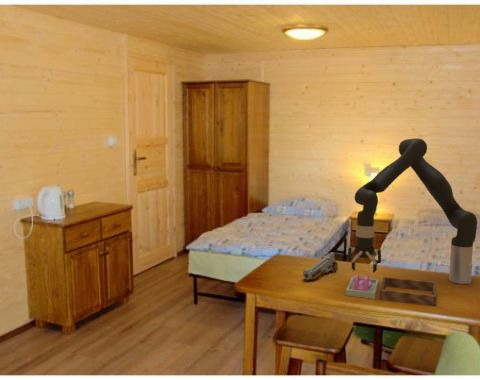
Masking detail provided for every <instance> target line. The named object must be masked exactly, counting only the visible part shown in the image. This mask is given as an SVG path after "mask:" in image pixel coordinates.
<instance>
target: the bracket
mask: <svg viewBox="0 0 480 380" xmlns="http://www.w3.org/2000/svg"><path fill="white" fill-rule="evenodd" d="M353 277H354V290H359V291H368V290H369V289H370V287H371V284H372V283H371V282H370V281H369V279H370V276H369V275H364V277H363V278H364V280H361V281H359V277H360V275H359V274H354V276H353Z"/></svg>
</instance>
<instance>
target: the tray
mask: <svg viewBox="0 0 480 380" xmlns="http://www.w3.org/2000/svg"><path fill="white" fill-rule="evenodd" d="M361 280H364V277H360V276H359V281H361ZM369 281H370V282H371V283H372V284H371V287H370V289H369V290H368V291H359V290H354V276H351V278H350V280H349V282H348V285H347V286H346V288H345V296H348V297H356V298H357V297H358V298H364V299H374V300H375V299H376V296H377V292H378V289H379V282H380V279H378V278H369Z"/></svg>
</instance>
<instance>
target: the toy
mask: <svg viewBox="0 0 480 380" xmlns="http://www.w3.org/2000/svg"><path fill="white" fill-rule="evenodd" d="M335 255H336V253H335V252H330V253H329V252H325V253H324V256H322V258H321V259H320V260H319V261H318V262H316V263H315V264H313V265H312V266H311V267H309V268H305V269H304V270H303V271H302V274H303V275H302V277H303V278H304V279H305V280H307V281H308V280H309V281H314V280H316V278H318V277H319V276H320V275H321V274H322V273H323V274H327V273H329V272H334V273H335V272H337V270H339V268H338V267H339V266H338V265H339V264H338V262H337V261H336V257H335Z"/></svg>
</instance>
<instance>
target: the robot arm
mask: <svg viewBox="0 0 480 380" xmlns="http://www.w3.org/2000/svg"><path fill="white" fill-rule="evenodd" d="M398 145H399V146H398V152H399V154H400V156H399V157H398V158H397V159H395V160H394V161H393V162H391V163H390V164H388V165H386V166H385V167H384V168H383V169H381V170H380V171H379V172H378V173H377V174H376V175H375V176H374V177H373V178H372V179H371V180H370V181H368V182H367V183H365V184H363V185H362V186H361V187H359V188H358V189H357V191H355V194H354V202H355V203H356V204H358V205H360V206H363V207H362V210H359V211H358V212H357V218H356V231H355V247H352V246H351V245H350V246H349V247H348V249H347V261H348V262H350V263H351V269H352V271H353V272H354V271H356V260H357V259H358V258H360V259H370V261H371V262H372V263H373V267H372V272H373V273H376V272H377V269H378V264H381V263H382V249H381V248H375V247H374V243H375V240H374V239H375V223H374V222H375V214H376V211H377V208H378V203H379V197H378V194H379V193H383V192H385V191H386V190H387V189H388V188H389V187H390V186H391V185H392V183H393V182H394V181H396V180H397V179H398V177H400V176H401V175H402V174H403V173H404V172H405V171H407V170H408V169H409V168H411V169H412V170H413V171H414V173H415V174H416V176H417V177H418V179H419V180H420V181H421V182H422V184H423V185H424V187H425V188H426V190H427V191H428V192H429V194H430V196H432V198H433V199H434V201H435V202H436V203H437V204H438V205H439V206H440V208H441V210H442V212H443V213H444V215H445V216H446V219H447V220H448V222H449V223H450V225H451V226H452V227H453V228H455V229H457V230H456V235H455V236H454V237H452V238H451V242H450V257H449V258H450V260H449V273H448V280H449V282H452V283H453V284H454V283H456V284H459V285H462V284H463V285H464V284H465V285H467V284H468V285H469V284H472V270H473V263H472V262H473V249H474V242H475V241H476V236H477V229H478V219H477V216H476V214H474V213H473V212H471V211H468V210H465V209H463V208H462V207H461V205H460V204H459V203H458V201H457V200H456V199H455V197H454V193H453V189H452V185H451V184H450V183H449V181H448V180H447V178H446V177H445V175H444V174H443V173H442V172H441V171H440V170H438V169H437V168H436V167H434V166H433V165H431V163H429V162H428V161H427V160H426V159H425V157H424V156H425V155H426V154H427V151H428V145H427V143H426V141H425V140H424V139H421V138H418V137H417V138H407V139H404V140H402V141H401V142H399V144H398ZM354 252H355V253H356V254H355V255H354V257H352V253H354ZM374 253H376V255H377V259H376V258H375V255H373V254H374Z"/></svg>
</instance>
